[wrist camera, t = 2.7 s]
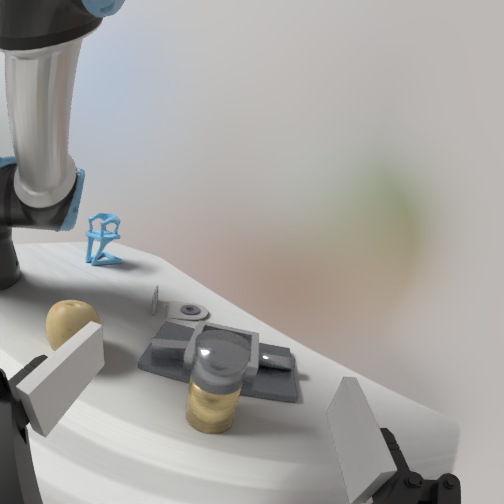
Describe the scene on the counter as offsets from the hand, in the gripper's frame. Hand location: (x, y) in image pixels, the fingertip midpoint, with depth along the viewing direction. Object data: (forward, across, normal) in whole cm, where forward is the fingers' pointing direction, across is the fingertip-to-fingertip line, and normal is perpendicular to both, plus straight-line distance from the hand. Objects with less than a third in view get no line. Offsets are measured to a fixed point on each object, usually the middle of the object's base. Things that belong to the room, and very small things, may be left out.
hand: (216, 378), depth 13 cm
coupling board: (+21, 0, -14) cm, 25 cm away
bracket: (+34, -10, -14) cm, 38 cm away
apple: (+14, -19, -14) cm, 28 cm away
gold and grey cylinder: (+10, 0, -14) cm, 17 cm away
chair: (+48, -35, -14) cm, 61 cm away
